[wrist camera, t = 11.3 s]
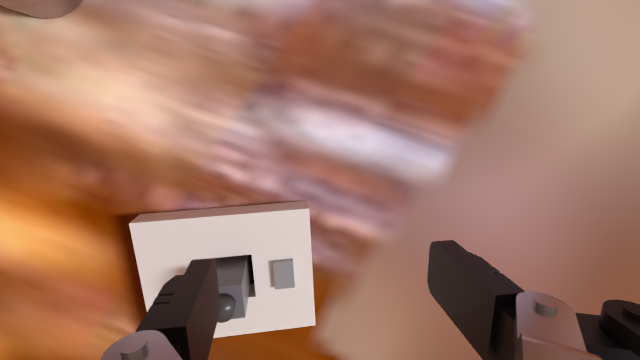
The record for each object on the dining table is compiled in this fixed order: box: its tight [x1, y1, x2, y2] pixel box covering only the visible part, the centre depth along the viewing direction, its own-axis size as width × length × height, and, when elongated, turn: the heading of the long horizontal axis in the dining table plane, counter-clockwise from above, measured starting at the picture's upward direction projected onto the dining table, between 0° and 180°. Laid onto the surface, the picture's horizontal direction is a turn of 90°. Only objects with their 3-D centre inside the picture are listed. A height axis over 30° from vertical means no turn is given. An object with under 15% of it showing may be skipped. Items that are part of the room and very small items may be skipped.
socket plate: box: [129, 201, 315, 338], centre depth 40 cm, size 20×16×4 cm
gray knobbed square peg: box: [214, 255, 251, 323], centre depth 37 cm, size 4×4×10 cm
